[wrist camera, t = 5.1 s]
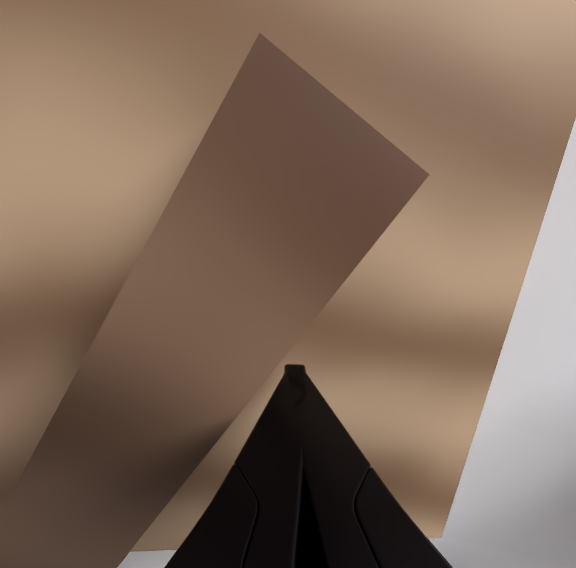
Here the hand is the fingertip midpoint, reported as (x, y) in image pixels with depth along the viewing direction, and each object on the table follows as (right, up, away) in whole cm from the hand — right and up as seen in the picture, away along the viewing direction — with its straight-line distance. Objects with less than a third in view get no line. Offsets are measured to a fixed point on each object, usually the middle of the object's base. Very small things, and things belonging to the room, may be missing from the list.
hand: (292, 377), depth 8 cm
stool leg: (-4, -1, +1) cm, 5 cm away
